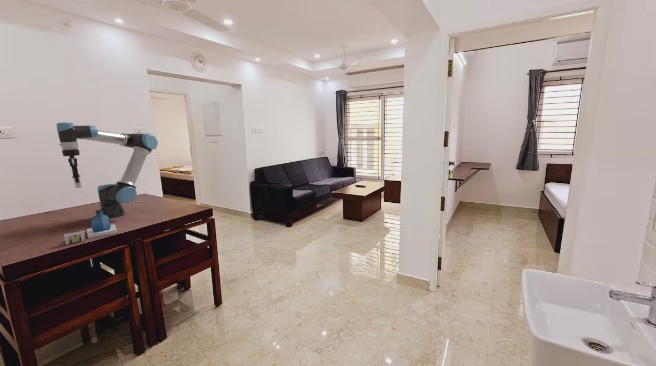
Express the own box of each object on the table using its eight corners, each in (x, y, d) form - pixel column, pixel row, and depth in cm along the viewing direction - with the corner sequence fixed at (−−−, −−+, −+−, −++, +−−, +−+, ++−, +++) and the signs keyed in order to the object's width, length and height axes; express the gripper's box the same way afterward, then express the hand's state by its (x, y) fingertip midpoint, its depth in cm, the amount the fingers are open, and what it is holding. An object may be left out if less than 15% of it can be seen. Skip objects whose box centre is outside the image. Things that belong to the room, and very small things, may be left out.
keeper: (65, 243, 153) (64, 234, 152) (85, 239, 159) (83, 230, 158) (65, 244, 152) (63, 235, 151) (85, 240, 157) (84, 231, 156)
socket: (87, 232, 170) (86, 229, 170) (115, 227, 179) (114, 224, 179) (88, 238, 160) (87, 235, 160) (117, 232, 169) (116, 229, 169)
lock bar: (72, 239, 160) (70, 230, 159) (79, 237, 162) (77, 229, 161) (72, 243, 154) (70, 234, 153) (79, 241, 156) (77, 233, 155)
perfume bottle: (100, 227, 172) (96, 209, 170) (110, 227, 173) (107, 208, 170) (92, 231, 166) (89, 211, 164) (103, 231, 167) (100, 211, 164)
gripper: (61, 148, 169) (70, 187, 174) (61, 150, 160) (70, 190, 165) (78, 147, 174) (85, 185, 179) (79, 149, 165) (87, 188, 170)
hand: (78, 187), depth 172 cm, fingers closed
